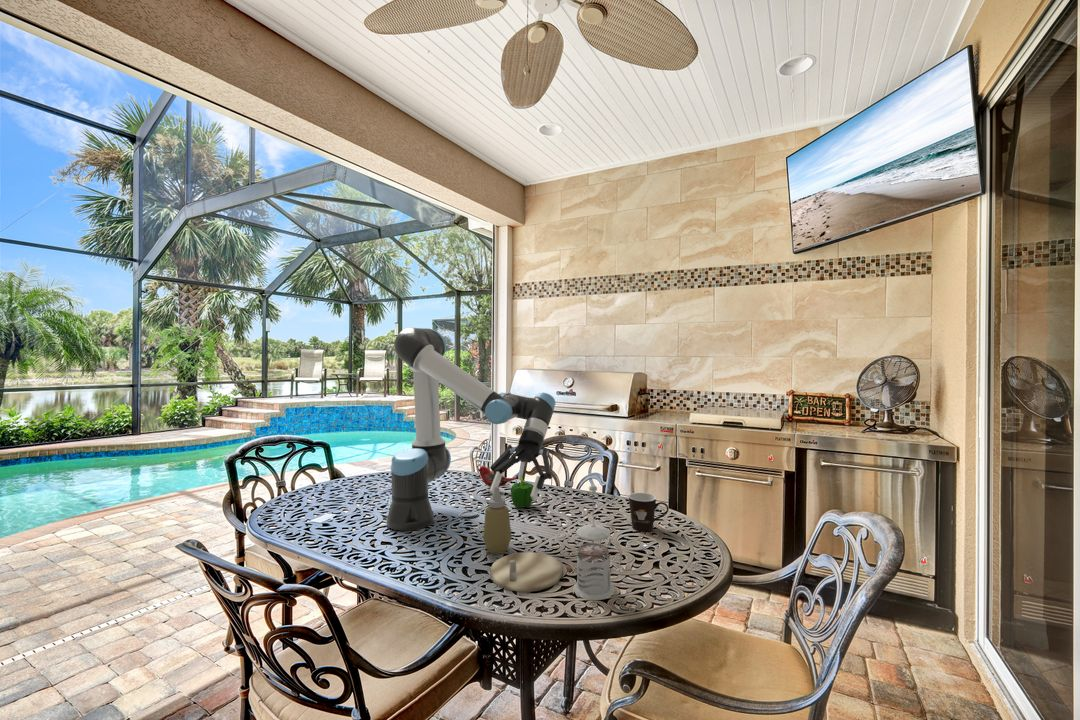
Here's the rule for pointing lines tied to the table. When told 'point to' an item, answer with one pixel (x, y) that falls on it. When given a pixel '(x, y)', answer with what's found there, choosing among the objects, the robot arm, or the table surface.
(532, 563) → the round beige plate
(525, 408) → the robot arm
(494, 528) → the squeeze bottle
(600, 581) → the french press
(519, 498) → the bell pepper
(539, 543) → the table surface
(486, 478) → the decorative bird figurine
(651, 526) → the coffee mug
